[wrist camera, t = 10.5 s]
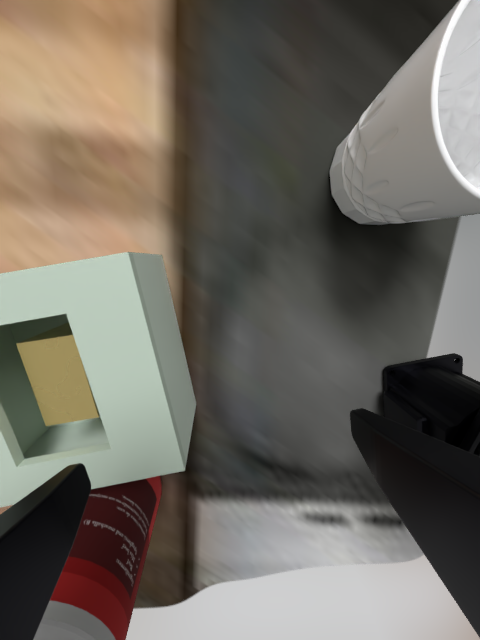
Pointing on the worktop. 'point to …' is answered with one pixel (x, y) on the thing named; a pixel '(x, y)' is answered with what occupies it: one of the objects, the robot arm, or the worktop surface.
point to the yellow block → (58, 376)
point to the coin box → (96, 373)
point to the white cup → (419, 134)
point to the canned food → (104, 564)
